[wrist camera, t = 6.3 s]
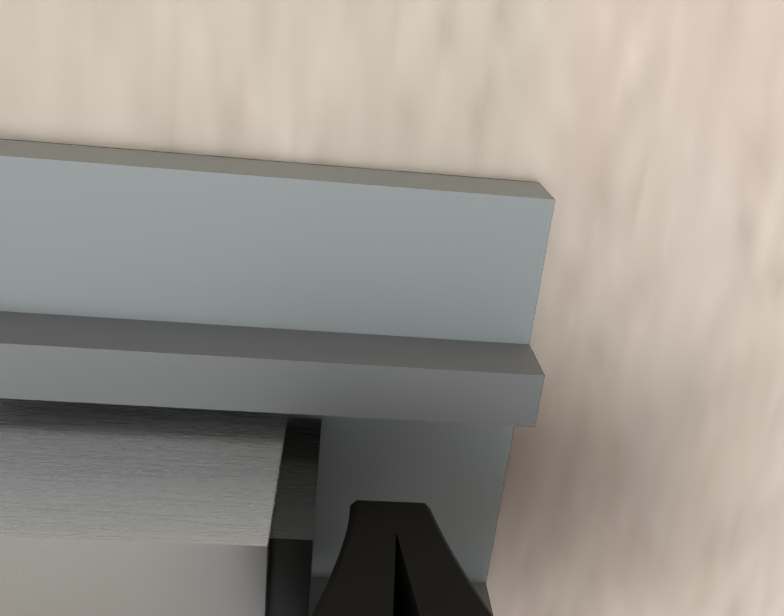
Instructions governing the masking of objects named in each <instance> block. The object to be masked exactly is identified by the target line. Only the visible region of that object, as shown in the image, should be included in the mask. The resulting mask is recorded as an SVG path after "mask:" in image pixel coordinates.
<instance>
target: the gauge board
mask: <svg viewBox="0 0 784 616" xmlns="http://www.w3.org/2000/svg"><path fill="white" fill-rule="evenodd" d="M554 204H555V199H554V198H553V197H552V196H551V195H550V194H549V193H548V192H547V191H546V190H545V188H544V187H543V186H542V185H541V184H540V183H536V182H524V181H512V180H499V179H487V178H475V177H462V176H450V175H438V174H425V173H413V172H401V171H388V170H376V169H364V168H351V167H339V166H327V165H314V164H302V163H289V162H277V161H265V160H252V159H240V158H228V157H215V156H203V155H191V154H178V153H166V152H154V151H141V150H129V149H117V148H104V147H92V146H80V145H67V144H55V143H43V142H30V141H18V140H5V139H0V398H6V399H25V400H43V401H62V402H80V403H99V404H117V405H136V406H155V407H173V408H192V409H210V410H229V411H247V412H266V413H284V414H289V417H291V418H310V419H322V421H321V437H320V452H319V468H318V483H317V499H316V514H315V530H314V545H313V561H312V576H311V590H310V605H309V616H311V615H312V613H313V611H314V609H315V607H316V605H317V603H318V601H319V599H320V597H321V595H322V593H323V591H324V589H325V587H326V585H327V583H328V580H329V578H330V575H331V573H332V570H333V568H334V565H335V563H336V560H337V558H338V555H339V553H340V550H341V547H342V544H343V541H344V538H345V534H346V530H347V526H348V521H349V511H350V505H351V504H352V503H354V502H355V501H356V500H368V501H391V502H414V503H426V505H427V506H428V507H429V508H430V509H431V511H432V514H433V516H434V518H435V520H436V522H437V524H438V526H439V528H440V530H441V532H442V534H443V536H444V538H445V540H446V542H447V543H448V545H449V547H450V549H451V550H452V552H453V554H454V556H455V558H456V559H457V561H458V563H459V564H460V566H461V568H462V569H463V571H464V572H465V574H466V576H467V577H468V579H469V580H470V582H471V583H472V585H473V587H474V588H475V590H476V591H477V593H478V594H479V596H480V597H481V599H482V600H483V602H484V603H485V605H486V606H487V608H488V609H489V611H490V612H491V613H492V609H491V604H490V600H489V595H488V591H487V586H486V580H487V574H488V568H489V563H490V557H491V552H492V546H493V541H494V535H495V530H496V524H497V519H498V513H499V508H500V502H501V497H502V491H503V486H504V480H505V475H506V469H507V464H508V458H509V453H510V447H511V442H512V436H513V430H514V426H526V427H535V423H536V418H537V413H538V408H539V403H540V398H541V392H542V387H543V382H544V377H545V375H544V373H543V371H542V369H541V367H540V365H539V363H538V361H537V359H536V357H535V355H534V353H533V351H532V349H531V347H530V345H529V342H530V337H531V331H532V326H533V320H534V315H535V309H536V303H537V298H538V292H539V287H540V281H541V276H542V270H543V265H544V259H545V254H546V248H547V243H548V237H549V232H550V226H551V221H552V215H553V210H554ZM492 615H493V613H492Z"/></svg>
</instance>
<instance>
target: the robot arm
mask: <svg viewBox="0 0 784 616" xmlns="http://www.w3.org/2000/svg"><path fill="white" fill-rule="evenodd" d="M311 616H493V615H492V613H491V612H490V611H489V609H488V608H487V606H486V605H485V603H484V602H483V600H482V599H481V597H480V596H479V594H478V593H477V591H476V590H475V588H474V587H473V585H472V583H471V582H470V580H469V579H468V577H467V576H466V574H465V572H464V571H463V569H462V568H461V566H460V564H459V563H458V561H457V559H456V558H455V556H454V554H453V552H452V550H451V549H450V547H449V545H448V543H447V542H446V540H445V538H444V536H443V534H442V532H441V530H440V528H439V526H438V524H437V522H436V520H435V518H434V516H433V514H432V511H431V509H430V508H429V507H428V506H427V505H426V503H414V502H391V501H368V500H356V501H355V502H354V503H352V504H351V505H350V511H349V521H348V526H347V530H346V534H345V538H344V541H343V544H342V547H341V550H340V553H339V555H338V558H337V560H336V563H335V565H334V568H333V570H332V573H331V575H330V578H329V580H328V583H327V585H326V587H325V589H324V591H323V593H322V595H321V597H320V599H319V601H318V603H317V605H316V607H315V609H314V611H313V613H312V615H311Z"/></svg>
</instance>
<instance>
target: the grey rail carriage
mask: <svg viewBox="0 0 784 616" xmlns="http://www.w3.org/2000/svg"><path fill="white" fill-rule="evenodd" d="M321 421H322V419H310V418H291V417H289V414H284V413H266V412H247V411H229V410H210V409H192V408H173V407H155V406H136V405H117V404H99V403H80V402H62V401H43V400H25V399H6V398H0V616H309V605H310V590H311V576H312V561H313V545H314V530H315V514H316V499H317V483H318V468H319V452H320V437H321Z"/></svg>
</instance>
